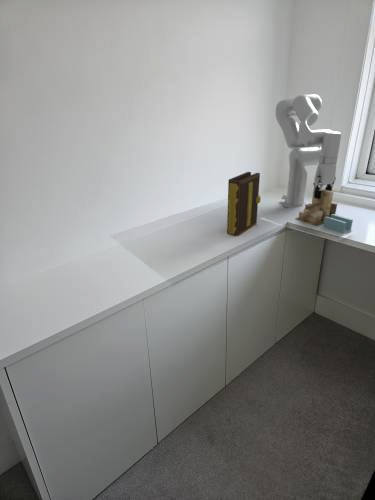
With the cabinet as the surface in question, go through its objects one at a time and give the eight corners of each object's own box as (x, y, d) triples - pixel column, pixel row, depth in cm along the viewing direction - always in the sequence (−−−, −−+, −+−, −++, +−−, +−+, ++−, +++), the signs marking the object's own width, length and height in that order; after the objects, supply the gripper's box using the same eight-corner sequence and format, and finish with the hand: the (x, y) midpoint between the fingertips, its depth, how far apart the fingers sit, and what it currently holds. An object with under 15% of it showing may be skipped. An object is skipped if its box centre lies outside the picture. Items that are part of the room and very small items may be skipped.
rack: (293, 220, 163) (296, 203, 159) (311, 214, 170) (313, 197, 166) (316, 228, 153) (319, 210, 149) (333, 221, 160) (337, 203, 156)
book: (239, 237, 146) (242, 182, 136) (223, 233, 151) (224, 180, 140) (261, 222, 162) (264, 172, 151) (245, 219, 167) (248, 170, 156)
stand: (320, 229, 152) (322, 217, 149) (332, 225, 156) (334, 213, 154) (340, 236, 144) (343, 223, 142) (351, 231, 149) (354, 219, 146)
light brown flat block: (309, 215, 166) (313, 188, 160) (312, 214, 167) (316, 187, 161) (325, 220, 159) (330, 192, 153) (328, 219, 160) (333, 191, 154)
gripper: (331, 156, 158) (326, 191, 166) (309, 161, 149) (304, 198, 157) (346, 158, 152) (339, 195, 160) (324, 163, 143) (318, 202, 151)
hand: (322, 196), depth 158 cm, fingers open, 7 cm apart
